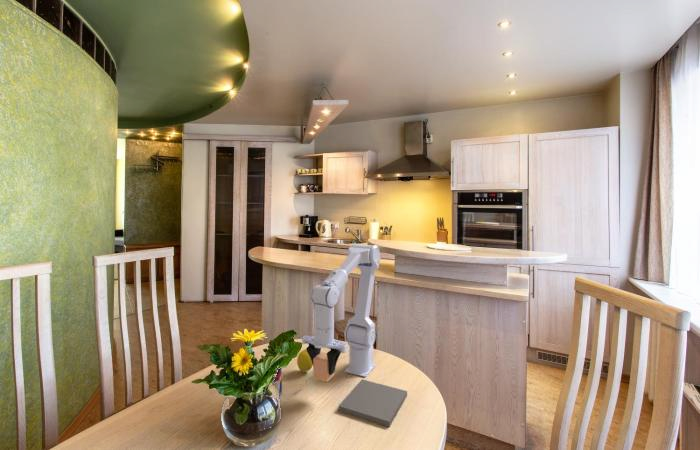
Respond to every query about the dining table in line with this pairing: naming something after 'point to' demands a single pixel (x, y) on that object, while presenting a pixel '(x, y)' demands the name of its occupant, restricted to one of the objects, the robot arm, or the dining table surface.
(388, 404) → the shelf board
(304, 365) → the lemon
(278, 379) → the energy drink
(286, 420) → the dining table surface
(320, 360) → the terracotta block
